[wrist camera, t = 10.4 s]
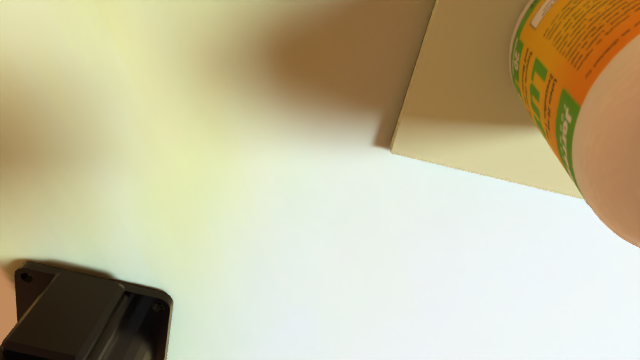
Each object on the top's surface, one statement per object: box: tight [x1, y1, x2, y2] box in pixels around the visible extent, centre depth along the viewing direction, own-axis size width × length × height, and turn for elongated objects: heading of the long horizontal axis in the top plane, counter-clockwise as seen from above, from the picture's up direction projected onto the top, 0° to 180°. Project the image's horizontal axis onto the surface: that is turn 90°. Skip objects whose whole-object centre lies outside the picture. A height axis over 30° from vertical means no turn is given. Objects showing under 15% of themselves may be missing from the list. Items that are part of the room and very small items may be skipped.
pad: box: [390, 0, 584, 199], centre depth 17 cm, size 10×10×1 cm
